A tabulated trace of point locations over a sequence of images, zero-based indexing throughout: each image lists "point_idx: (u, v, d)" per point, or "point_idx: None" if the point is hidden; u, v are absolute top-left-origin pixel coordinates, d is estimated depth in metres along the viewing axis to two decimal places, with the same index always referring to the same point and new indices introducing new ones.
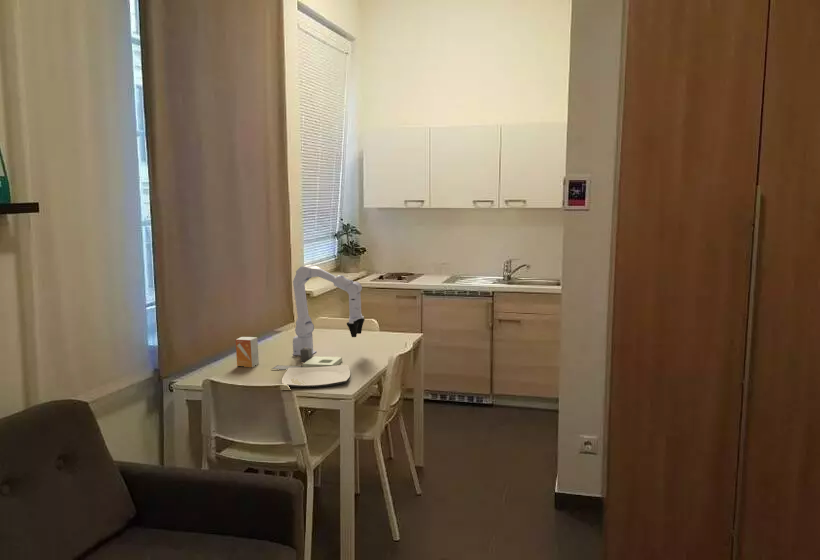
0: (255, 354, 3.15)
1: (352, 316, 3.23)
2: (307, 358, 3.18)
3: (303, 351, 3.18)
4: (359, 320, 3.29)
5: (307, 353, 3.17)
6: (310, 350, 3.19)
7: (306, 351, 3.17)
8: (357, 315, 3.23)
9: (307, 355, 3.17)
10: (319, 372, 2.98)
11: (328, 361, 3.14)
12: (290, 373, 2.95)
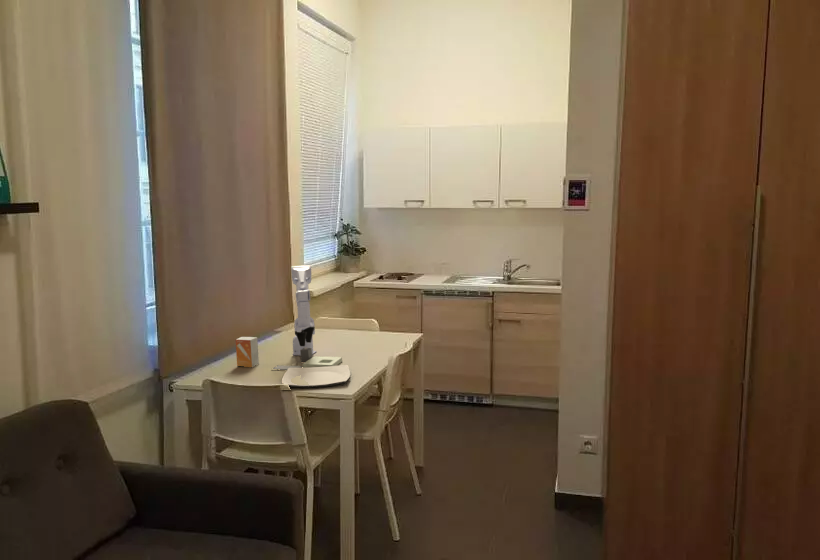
0: (255, 354, 3.15)
1: (300, 325, 3.15)
2: (307, 358, 3.18)
3: (303, 351, 3.18)
4: (309, 328, 3.21)
5: (307, 353, 3.17)
6: (310, 350, 3.19)
7: (306, 351, 3.17)
8: (306, 324, 3.15)
9: (307, 355, 3.17)
10: (319, 372, 2.98)
11: (328, 361, 3.14)
12: (290, 373, 2.95)
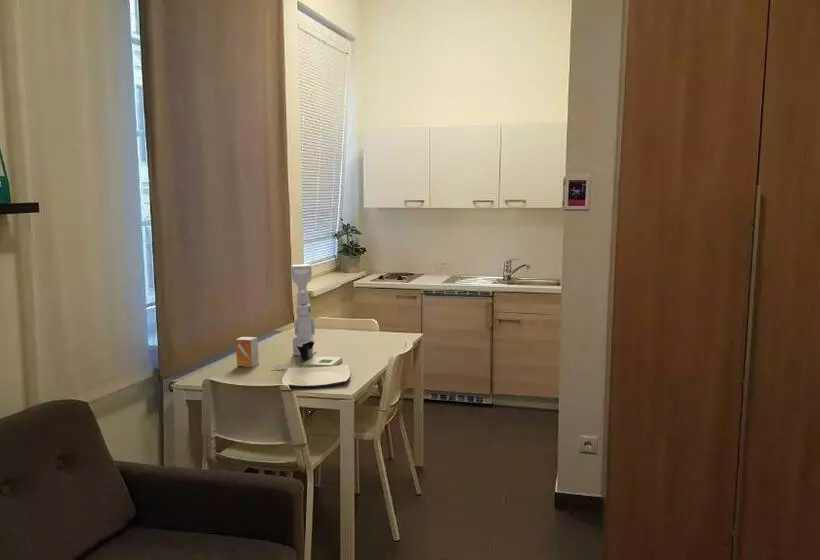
0: (255, 354, 3.15)
1: (301, 339, 3.16)
2: (307, 358, 3.18)
3: None
4: (308, 343, 3.21)
5: None
6: (310, 350, 3.19)
7: None
8: (307, 338, 3.16)
9: (307, 355, 3.17)
10: (319, 372, 2.98)
11: (328, 361, 3.14)
12: (290, 373, 2.95)
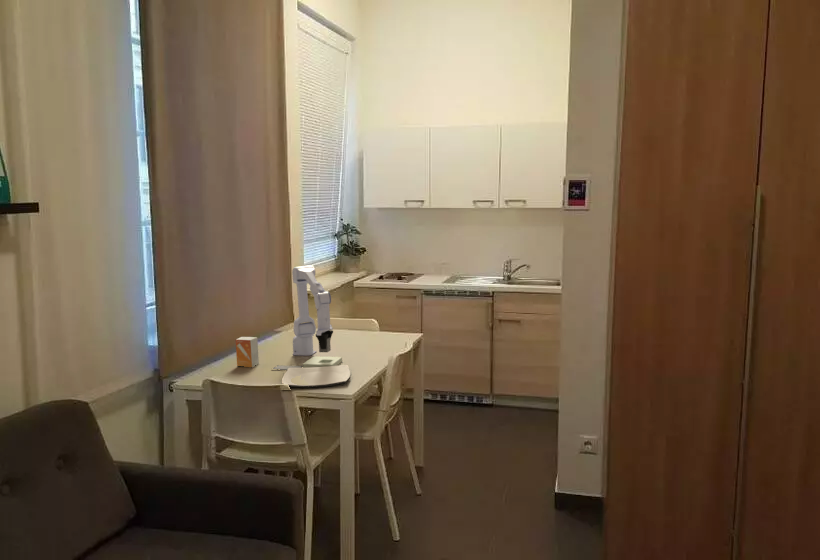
0: (255, 354, 3.15)
1: (320, 328, 3.07)
2: (326, 348, 3.08)
3: None
4: (327, 332, 3.11)
5: (326, 342, 3.08)
6: (328, 339, 3.10)
7: None
8: (326, 327, 3.06)
9: (326, 344, 3.08)
10: (319, 372, 2.98)
11: (328, 361, 3.14)
12: (290, 373, 2.95)
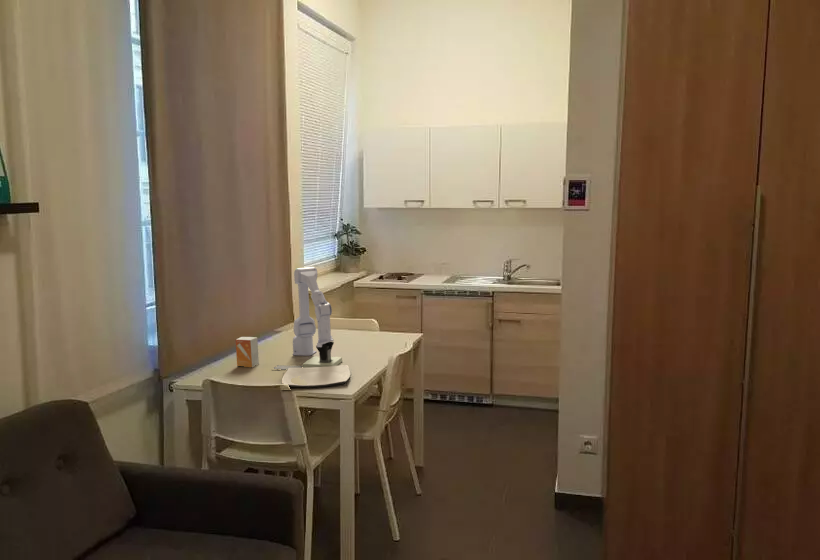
0: (255, 354, 3.15)
1: (321, 339, 3.07)
2: None
3: None
4: (328, 344, 3.12)
5: None
6: (329, 351, 3.11)
7: None
8: (326, 338, 3.07)
9: None
10: (319, 372, 2.98)
11: None
12: (290, 373, 2.95)
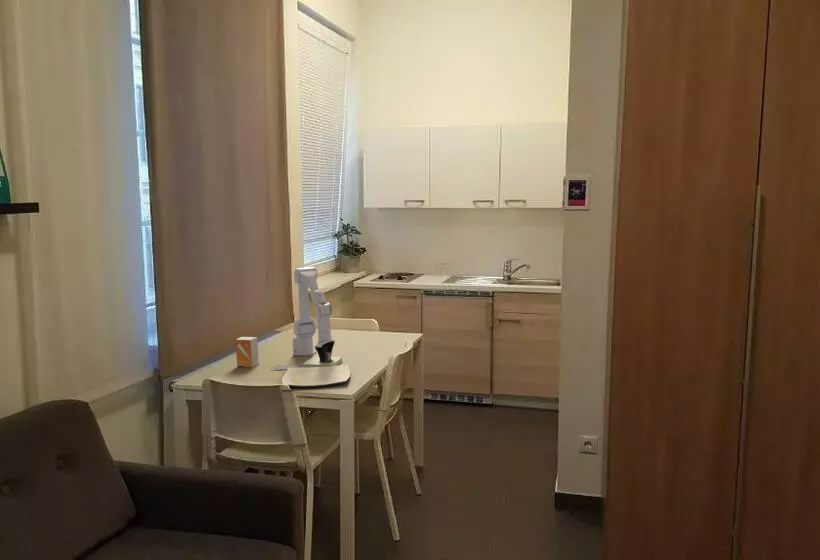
0: (255, 354, 3.15)
1: (321, 339, 3.07)
2: (326, 362, 3.09)
3: None
4: (329, 343, 3.14)
5: (326, 357, 3.09)
6: (329, 354, 3.11)
7: None
8: (326, 338, 3.07)
9: (326, 359, 3.09)
10: (319, 372, 2.98)
11: None
12: (290, 373, 2.95)
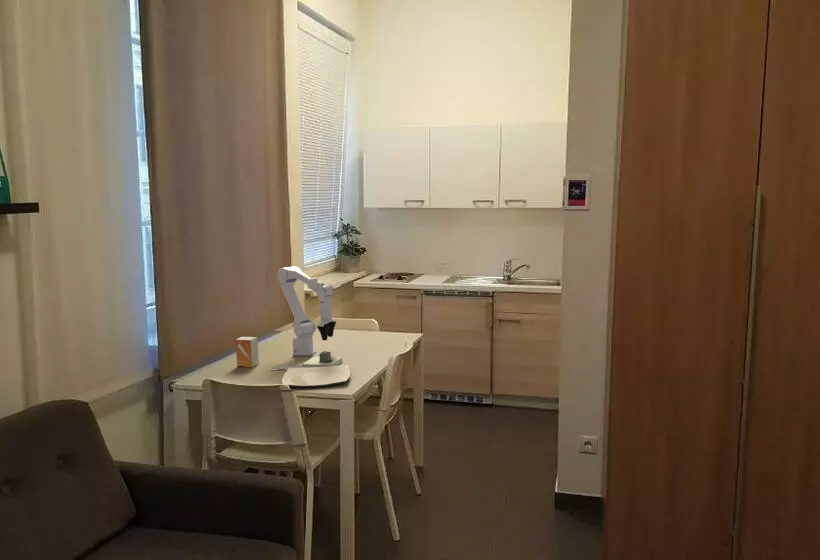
0: (255, 354, 3.15)
1: (323, 319, 3.21)
2: (326, 362, 3.09)
3: (322, 355, 3.09)
4: (330, 323, 3.27)
5: (326, 357, 3.09)
6: (329, 354, 3.11)
7: (325, 355, 3.09)
8: (328, 318, 3.21)
9: (326, 359, 3.09)
10: (319, 372, 2.98)
11: None
12: (290, 373, 2.95)
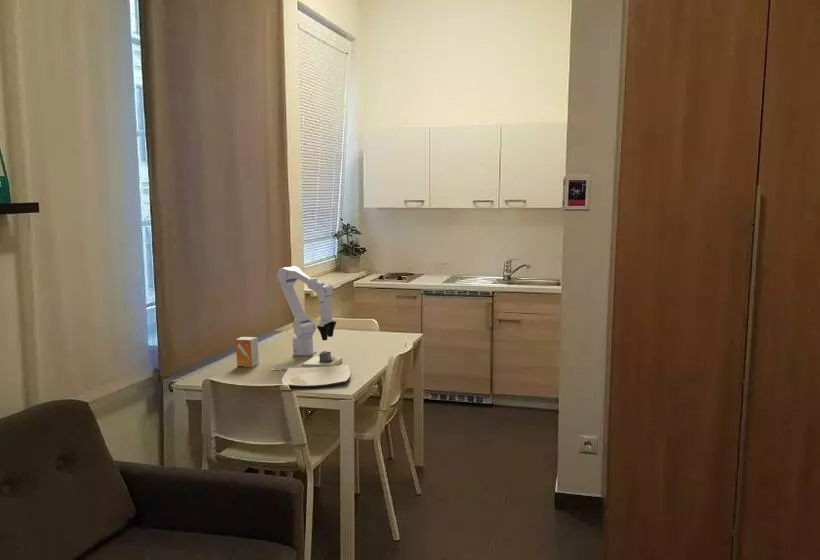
0: (255, 354, 3.15)
1: (323, 319, 3.21)
2: (326, 362, 3.09)
3: (322, 355, 3.09)
4: (330, 323, 3.27)
5: (326, 357, 3.09)
6: (329, 354, 3.11)
7: (325, 355, 3.09)
8: (328, 318, 3.21)
9: (326, 359, 3.09)
10: (319, 372, 2.98)
11: None
12: (290, 373, 2.95)
